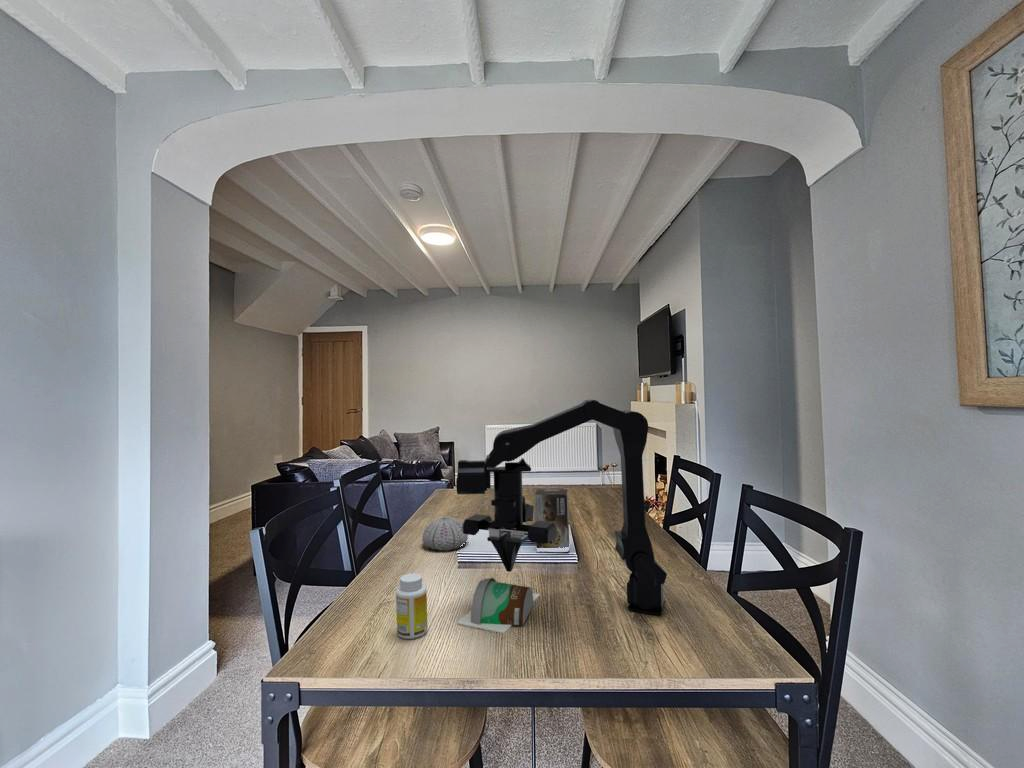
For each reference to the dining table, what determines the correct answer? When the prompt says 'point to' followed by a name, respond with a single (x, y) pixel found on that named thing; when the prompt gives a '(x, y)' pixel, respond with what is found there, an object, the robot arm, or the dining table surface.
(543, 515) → the coffee box
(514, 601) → the food container
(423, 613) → the supplement bottle
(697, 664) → the dining table surface
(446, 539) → the sea urchin shell
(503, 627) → the mat
